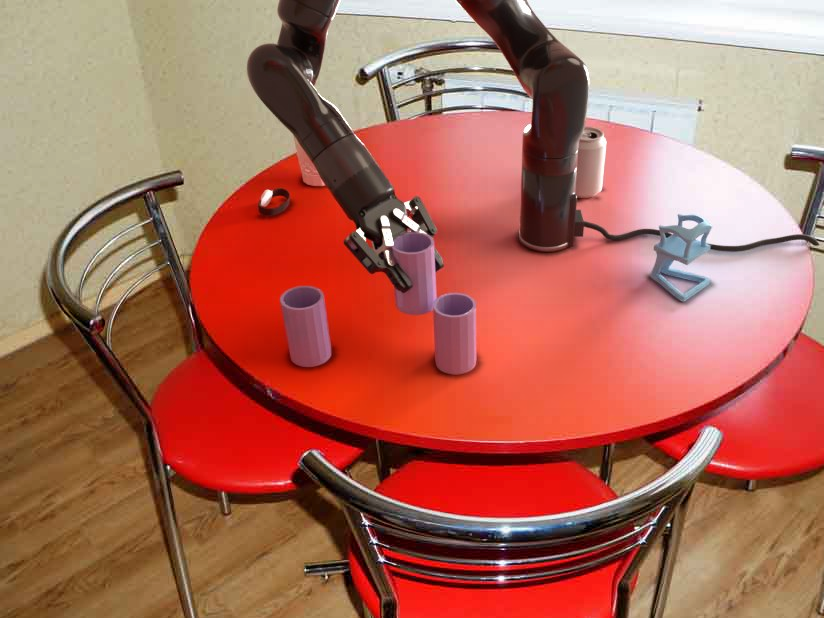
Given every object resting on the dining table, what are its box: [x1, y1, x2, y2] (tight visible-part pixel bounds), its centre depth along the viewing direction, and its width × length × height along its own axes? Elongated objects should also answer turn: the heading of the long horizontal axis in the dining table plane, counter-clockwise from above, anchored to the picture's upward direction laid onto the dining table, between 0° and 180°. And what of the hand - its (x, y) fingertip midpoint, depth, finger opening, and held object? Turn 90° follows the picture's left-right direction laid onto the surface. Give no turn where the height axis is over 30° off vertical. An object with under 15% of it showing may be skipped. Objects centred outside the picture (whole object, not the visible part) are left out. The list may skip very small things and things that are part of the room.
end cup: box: [279, 285, 333, 368], centre depth 121 cm, size 6×6×10 cm
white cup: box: [292, 134, 326, 187], centre depth 164 cm, size 8×8×10 cm
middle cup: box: [392, 232, 438, 316], centre depth 119 cm, size 6×6×10 cm
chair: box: [649, 213, 713, 303], centre depth 136 cm, size 8×8×12 cm
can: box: [575, 125, 607, 199], centre depth 161 cm, size 8×8×12 cm
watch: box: [257, 187, 291, 217], centre depth 157 cm, size 8×5×4 cm, turn 159°
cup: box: [432, 292, 477, 376], centre depth 120 cm, size 6×6×10 cm
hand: (423, 279), depth 118 cm, fingers closed on middle cup, 6 cm apart
